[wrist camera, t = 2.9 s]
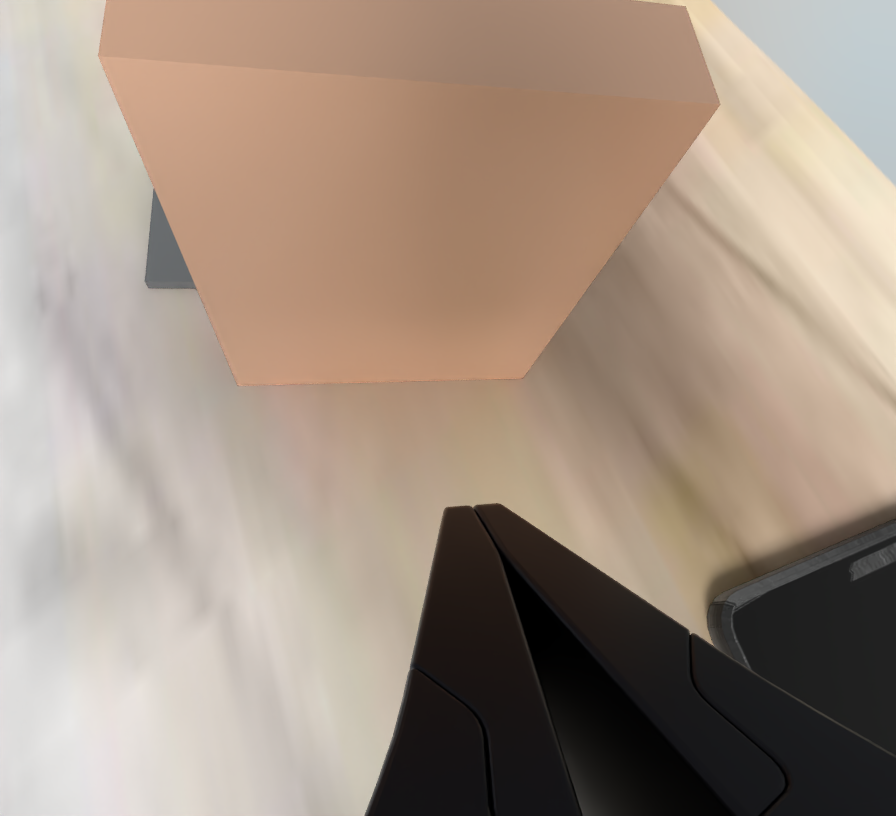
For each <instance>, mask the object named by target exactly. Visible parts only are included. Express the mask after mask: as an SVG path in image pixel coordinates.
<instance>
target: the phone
mask: <svg viewBox="0 0 896 816" xmlns="http://www.w3.org/2000/svg"><path fill="white" fill-rule="evenodd" d="M707 622H708V630H709V633H710V637H711V640H712V642H713V644H714V646H715V647H716V648H717V649H719V650H720V651H722V652H723V653H725V654H726V655H728V656H730V657H731V658H733V659H734V660H736V661H737V662H739V663H740V664H742V665H744V666H745V667H747V668H748V669H750V670H751V671H753V672H754V673H756V674H758V675H759V676H761V677H762V678H764V679H765V680H767V681H769V682H770V683H772V684H774V685H776V686H777V687H779V688H781V689H782V690H784V691H786V692H787V693H789V694H791V695H792V696H794V697H796V698H797V699H799V700H801V701H802V702H804V703H806V704H807V705H809V706H811V707H812V708H814V709H816V710H818V711H819V712H821V713H823V714H825V715H826V716H828V717H830V718H831V719H833V720H835V721H837V722H838V723H840V724H842V725H844V726H845V727H847V728H849V729H851V730H852V731H854V732H856V733H858V734H859V735H861V736H863V737H865V738H866V739H868V740H870V741H872V742H873V743H875V744H877V745H878V746H880V747H882V748H884V749H885V750H887V751H889V752H891V753H892V754H894V755H896V519H893V520H891V521H889V522H886V523H884V524H882V525H879V526H877V527H875V528H872V529H870V530H868V531H865V532H863V533H861V534H858V535H856V536H854V537H851V538H849V539H847V540H844V541H842V542H840V543H837V544H835V545H833V546H830V547H828V548H826V549H823V550H821V551H819V552H816V553H814V554H812V555H809V556H807V557H805V558H802V559H800V560H797V561H795V562H793V563H790V564H788V565H786V566H783V567H781V568H779V569H776V570H774V571H772V572H769V573H767V574H765V575H762V576H760V577H758V578H755V579H753V580H751V581H748V582H746V583H744V584H741V585H739V586H737V587H734V588H732V589H730V590H727V591H725V592H723V593H721V594H720V595H718V596H717V597H715V599H714V600H713V602H712V603H711V605H710V607H709V611H708V615H707Z"/></svg>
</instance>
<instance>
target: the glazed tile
mask: <svg viewBox="0 0 896 816" xmlns="http://www.w3.org/2000/svg"><path fill="white" fill-rule="evenodd" d="M98 57H99V59H100V62H101V64H102V66H103V69H104V71H105V73H106V76H107V78H108V80H109V83H110V85H111V88H112V90H113V92H114V95H115V97H116V99H117V102H118V104H119V106H120V109H121V111H122V114H123V116H124V118H125V121H126V123H127V125H128V128H129V130H130V132H131V135H132V137H133V140H134V142H135V144H136V147H137V149H138V151H139V154H140V156H141V158H142V161H143V163H144V166H145V168H146V170H147V173H148V175H149V177H150V180H151V182H152V184H153V187H154V189H155V192H156V194H157V196H158V199H159V201H160V203H161V206H162V208H163V210H164V213H165V215H166V218H167V220H168V222H169V225H170V227H171V229H172V232H173V234H174V236H175V239H176V241H177V244H178V246H179V248H180V251H181V253H182V255H183V258H184V260H185V262H186V265H187V267H188V270H189V272H190V274H191V277H192V279H193V281H194V284H195V286H196V288H197V291H198V293H199V296H200V298H201V300H202V303H203V305H204V307H205V310H206V312H207V314H208V317H209V319H210V322H211V324H212V326H213V329H214V331H215V333H216V336H217V338H218V340H219V343H220V345H221V348H222V350H223V352H224V355H225V357H226V359H227V362H228V364H229V366H230V369H231V371H232V374H233V376H234V378H235V381H236V383H237V385H238V386H254V385H292V384H330V383H369V382H407V381H445V380H483V379H521V378H523V377H524V376H525V375H526V373H527V372H528V370H529V369H530V368H531V366H532V365H533V364H534V362H535V361H536V359H537V358H538V357H539V355H540V354H541V352H542V351H543V350H544V348H545V347H546V346H547V344H548V343H549V341H550V340H551V339H552V337H553V336H554V334H555V333H556V332H557V330H558V329H559V328H560V326H561V325H562V323H563V322H564V321H565V319H566V318H567V316H568V315H569V314H570V312H571V311H572V309H573V308H574V307H575V305H576V304H577V303H578V301H579V300H580V298H581V297H582V296H583V294H584V293H585V291H586V290H587V289H588V287H589V286H590V285H591V283H592V282H593V280H594V279H595V278H596V276H597V275H598V273H599V272H600V271H601V269H602V268H603V267H604V265H605V264H606V262H607V261H608V260H609V258H610V257H611V255H612V254H613V253H614V251H615V250H616V249H617V247H618V246H619V244H620V243H621V242H622V240H623V239H624V237H625V236H626V235H627V233H628V232H629V231H630V229H631V228H632V226H633V225H634V224H635V222H636V221H637V219H638V218H639V217H640V215H641V214H642V213H643V211H644V210H645V208H646V207H647V206H648V204H649V203H650V201H651V200H652V199H653V197H654V196H655V194H656V193H657V192H658V190H659V189H660V188H661V186H662V185H663V183H664V182H665V181H666V179H667V178H668V176H669V175H670V174H671V172H672V171H673V170H674V168H675V167H676V165H677V164H678V163H679V161H680V160H681V158H682V157H683V156H684V154H685V153H686V152H687V150H688V149H689V147H690V146H691V145H692V143H693V142H694V140H695V139H696V138H697V136H698V135H699V134H700V132H701V131H702V129H703V128H704V127H705V125H706V124H707V122H708V121H709V120H710V118H711V117H712V116H713V114H714V113H715V111H716V110H717V109H718V107H719V106H720V102H719V99H718V96H717V93H716V90H715V88H714V85H713V82H712V79H711V76H710V73H709V71H708V68H707V65H706V62H705V59H704V56H703V54H702V51H701V48H700V45H699V42H698V40H697V37H696V34H695V31H694V28H693V25H692V23H691V20H690V17H689V14H688V11H687V8H686V6H677V5H669V4H660V3H651V2H642V1H634V0H106V6H105V13H104V20H103V27H102V33H101V40H100V47H99V54H98Z"/></svg>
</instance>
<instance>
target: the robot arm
mask: <svg viewBox="0 0 896 816" xmlns="http://www.w3.org/2000/svg"><path fill="white" fill-rule="evenodd" d="M365 816H896V755H894V754H892V753H891V752H889V751H887V750H885V749H884V748H882V747H880V746H878V745H877V744H875V743H873V742H872V741H870V740H868V739H866V738H865V737H863V736H861V735H859V734H858V733H856V732H854V731H852V730H851V729H849V728H847V727H845V726H844V725H842V724H840V723H838V722H837V721H835V720H833V719H831V718H830V717H828V716H826V715H825V714H823V713H821V712H819V711H818V710H816V709H814V708H812V707H811V706H809V705H807V704H806V703H804V702H802V701H801V700H799V699H797V698H796V697H794V696H792V695H791V694H789V693H787V692H786V691H784V690H782V689H781V688H779V687H777V686H776V685H774V684H772V683H770V682H769V681H767V680H765V679H764V678H762V677H761V676H759V675H758V674H756V673H754V672H753V671H751V670H750V669H748V668H747V667H745V666H744V665H742V664H740V663H739V662H737V661H736V660H734V659H733V658H731V657H730V656H728V655H726V654H725V653H723V652H722V651H720V650H719V649H717V648H716V647H714V646H713V645H711V644H710V643H708V642H707V641H705V640H704V639H702V638H701V637H699V636H698V635H696V634H694V633H692V634H691V635H690V632H689V630H688V629H687V628H685V627H684V626H682V625H681V624H680V623H678V622H677V621H675V620H674V619H672V618H671V617H669V616H668V615H666V614H665V613H663V612H662V611H660V610H659V609H657V608H656V607H654V606H653V605H651V604H650V603H648V602H647V601H645V600H644V599H642V598H641V597H639V596H638V595H636V594H635V593H633V592H632V591H630V590H629V589H627V588H626V587H624V586H623V585H621V584H620V583H618V582H617V581H615V580H614V579H612V578H611V577H609V576H608V575H606V574H605V573H603V572H602V571H600V570H599V569H597V568H596V567H594V566H593V565H591V564H590V563H588V562H587V561H585V560H584V559H582V558H581V557H579V556H578V555H576V554H575V553H573V552H572V551H570V550H569V549H567V548H566V547H564V546H563V545H561V544H560V543H559V542H557V541H556V540H554V539H553V538H551V537H550V536H548V535H547V534H545V533H544V532H542V531H541V530H539V529H538V528H536V527H535V526H533V525H532V524H530V523H529V522H527V521H526V520H524V519H523V518H521V517H520V516H518V515H517V514H515V513H514V512H512V511H511V510H509V509H508V508H506V507H505V506H503V505H501V504H497V503H496V504H483V505H475V506H474V507H473V508H472V507H471V506H455V507H446V508H445V509H444V512H443V516H442V521H441V525H440V530H439V534H438V539H437V544H436V548H435V553H434V558H433V562H432V567H431V571H430V576H429V581H428V585H427V590H426V595H425V599H424V604H423V608H422V613H421V618H420V622H419V627H418V632H417V636H416V641H415V645H414V650H413V655H412V659H411V664H410V671H409V672H408V676H407V681H406V685H405V690H404V695H403V699H402V703H401V707H400V711H399V714H398V718H397V722H396V726H395V730H394V734H393V737H392V740H391V743H390V746H389V749H388V752H387V755H386V758H385V761H384V764H383V766H382V769H381V772H380V775H379V778H378V781H377V784H376V787H375V789H374V792H373V795H372V797H371V800H370V802H369V805H368V808H367V810H366V813H365Z"/></svg>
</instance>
